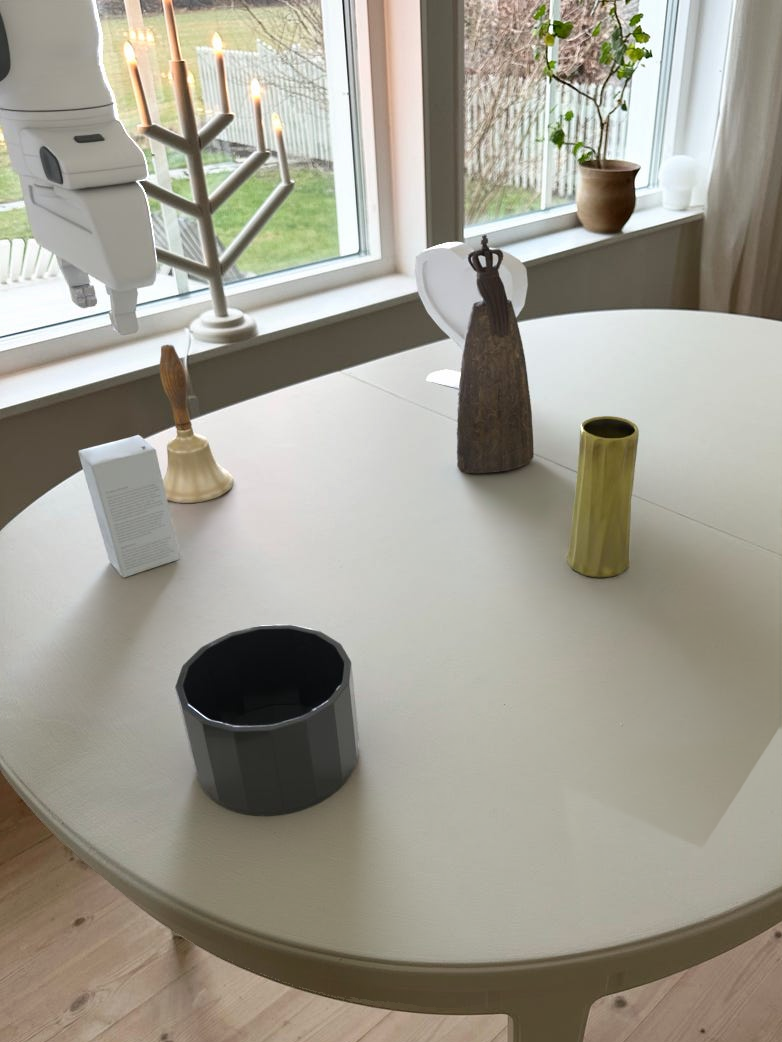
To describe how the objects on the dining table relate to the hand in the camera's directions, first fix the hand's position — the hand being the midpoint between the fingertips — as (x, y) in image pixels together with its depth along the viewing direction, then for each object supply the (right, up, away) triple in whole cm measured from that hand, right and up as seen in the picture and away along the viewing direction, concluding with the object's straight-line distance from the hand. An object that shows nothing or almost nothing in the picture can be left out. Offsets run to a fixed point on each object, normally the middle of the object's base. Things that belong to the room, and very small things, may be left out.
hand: (105, 318), depth 85 cm
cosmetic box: (0, -21, +10) cm, 23 cm away
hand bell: (+1, -11, +23) cm, 26 cm away
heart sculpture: (+32, +7, +48) cm, 58 cm away
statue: (+35, -8, +28) cm, 46 cm away
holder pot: (+18, -37, -13) cm, 44 cm away
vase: (+45, -21, +10) cm, 51 cm away
